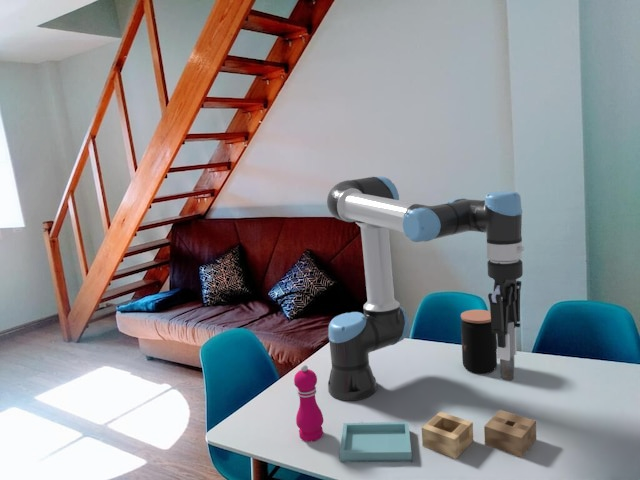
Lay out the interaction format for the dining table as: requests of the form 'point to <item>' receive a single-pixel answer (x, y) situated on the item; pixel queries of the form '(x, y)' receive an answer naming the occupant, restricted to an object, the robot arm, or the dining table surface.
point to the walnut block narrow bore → (510, 433)
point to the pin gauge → (508, 366)
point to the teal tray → (375, 442)
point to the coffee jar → (478, 342)
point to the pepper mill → (308, 406)
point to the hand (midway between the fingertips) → (506, 355)
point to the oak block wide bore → (447, 434)
